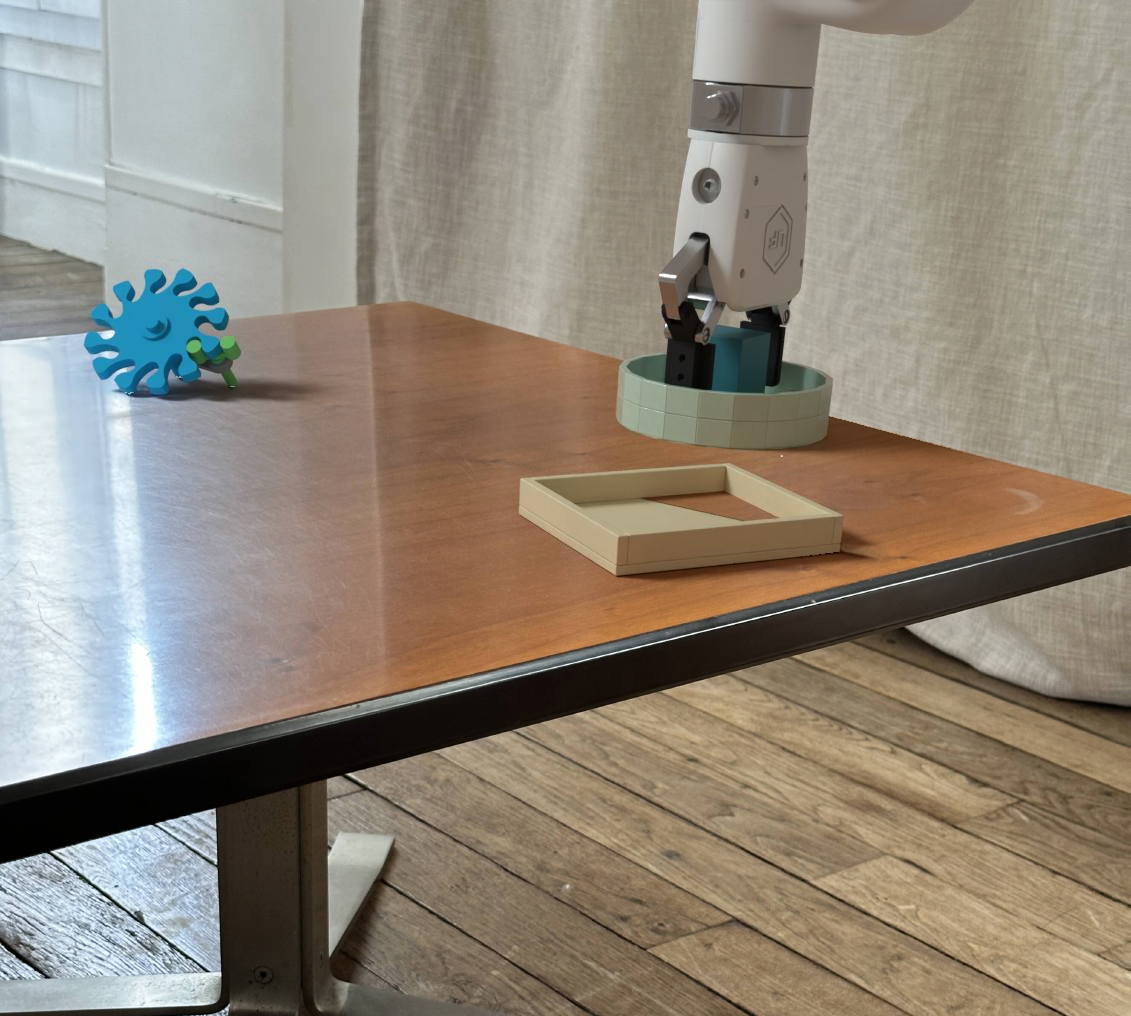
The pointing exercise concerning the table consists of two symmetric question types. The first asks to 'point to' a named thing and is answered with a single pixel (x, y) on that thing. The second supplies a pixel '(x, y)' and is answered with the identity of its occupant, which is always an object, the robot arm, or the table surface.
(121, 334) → the gear
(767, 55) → the robot arm
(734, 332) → the block
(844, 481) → the table surface
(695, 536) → the tray
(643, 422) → the bowl
